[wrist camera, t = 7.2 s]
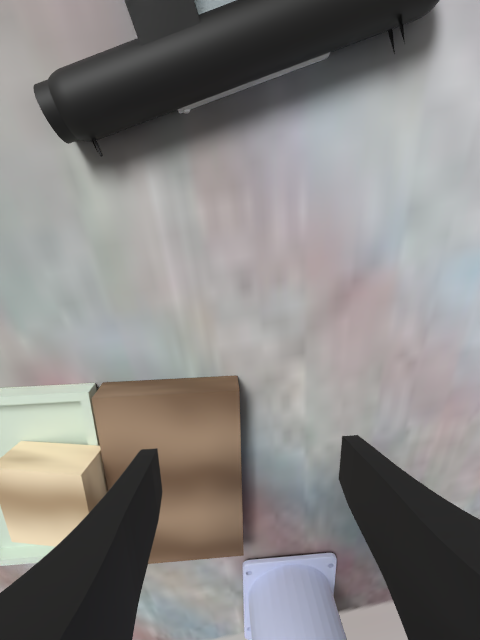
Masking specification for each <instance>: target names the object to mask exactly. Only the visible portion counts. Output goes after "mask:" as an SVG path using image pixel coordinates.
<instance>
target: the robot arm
mask: <svg viewBox="0 0 480 640" xmlns="http://www.w3.org/2000/svg"><path fill="white" fill-rule="evenodd" d="M339 481H340V483H341V486H342V489H343V492H344V495H345V498H346V500H347V503H348V505H349V508H350V510H351V512H352V514H353V516H354V518H355V520H356V522H357V524H358V526H359V528H360V530H361V532H362V534H363V536H364V538H365V540H366V542H367V544H368V546H369V548H370V550H371V552H372V554H373V556H374V558H375V560H376V562H377V564H378V566H379V568H380V570H381V573H382V575H383V577H384V579H385V581H386V584H387V586H388V589H389V591H390V594H391V596H392V599H393V601H394V604H395V606H396V609H397V611H398V614H399V616H400V619H401V621H402V624H403V627H404V629H405V632H406V634H407V637H408V640H480V520H479V519H478V518H476V517H474V516H472V515H470V514H469V513H467V512H465V511H463V510H462V509H460V508H459V507H457V506H455V505H454V504H452V503H450V502H449V501H447V500H445V499H444V498H442V497H441V496H439V495H437V494H436V493H434V492H433V491H431V490H430V489H429V488H427V487H426V486H424V485H423V484H421V483H420V482H418V481H417V480H415V479H414V478H413V477H411V476H410V475H409V474H407V473H406V472H404V471H403V470H402V469H400V468H399V467H398V466H396V465H395V464H394V463H393V462H391V461H390V460H389V459H387V458H386V457H385V456H384V455H382V454H381V453H380V452H378V451H377V450H376V449H375V448H373V447H372V446H371V445H370V444H368V443H367V442H366V441H365V440H363V439H362V438H361V437H359V436H358V435H354V436H342V447H341V459H340V470H339ZM162 492H163V491H162V483H161V474H160V466H159V458H158V449H157V448H156V449H141V450H140V451H139V452H138V454H137V455H136V456H135V458H134V459H133V460H132V462H131V463H130V464H129V466H128V467H127V468H126V470H125V471H124V472H123V473H122V475H121V476H120V477H119V479H118V480H117V481H116V482H115V483H114V485H113V486H112V487H111V488H110V490H109V491H108V492H107V493H106V494H105V496H104V497H103V498H102V499H101V500H100V501H99V502H98V504H97V505H96V506H95V507H94V508H93V509H92V510H91V511H90V513H89V514H88V515H87V516H86V517H85V518H84V519H83V520H82V521H81V522H80V523H79V524H78V525H77V526H76V527H75V528H74V529H73V530H72V531H71V532H70V533H69V534H68V535H67V536H66V537H65V538H64V539H63V540H62V541H61V542H60V543H59V544H58V545H57V546H56V547H55V548H54V549H53V550H51V551H50V552H49V553H48V554H47V555H46V556H45V557H43V558H42V559H41V560H40V561H39V562H38V563H37V564H35V565H34V566H33V567H32V568H31V569H30V570H29V571H27V572H26V573H25V574H24V575H22V576H21V577H20V578H19V579H18V580H16V581H15V582H14V583H12V584H11V585H10V586H9V587H7V588H6V589H5V590H4V591H2V592H1V593H0V640H132V637H133V631H134V625H135V619H136V613H137V607H138V602H139V598H140V593H141V589H142V585H143V581H144V577H145V573H146V569H147V565H148V561H149V557H150V553H151V549H152V545H153V541H154V537H155V533H156V529H157V525H158V520H159V514H160V507H161V499H162ZM336 563H337V559H336V556H335V554H334V553H321V554H309V555H298V556H287V557H276V558H264V559H253V560H246V561H245V562H244V563H243V600H244V634H245V638H246V639H248V640H251V639H252V640H347V639H346V635H345V632H344V630H343V626H342V623H341V619H340V616H339V613H338V610H337V607H336V604H335V600H334V597H333V595H334V585H335V574H336Z"/></svg>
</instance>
